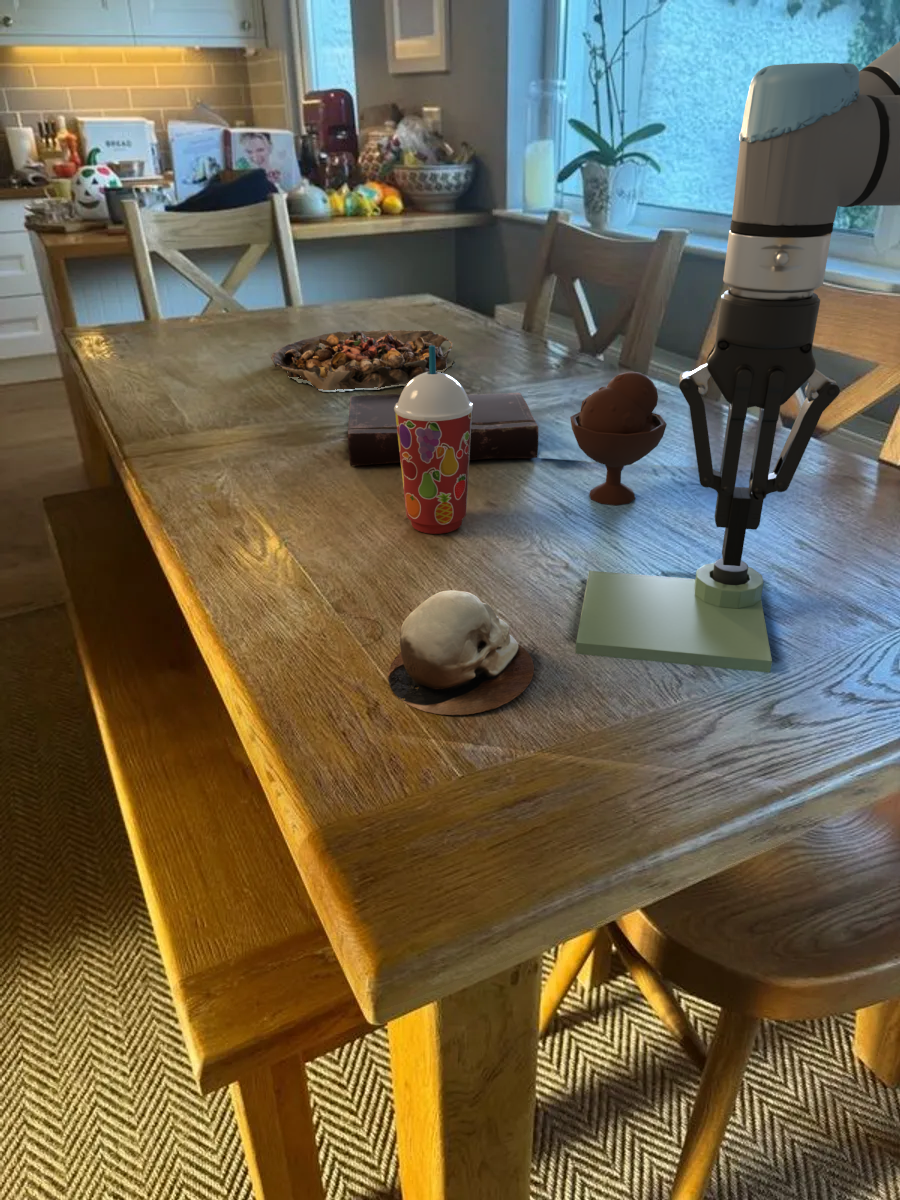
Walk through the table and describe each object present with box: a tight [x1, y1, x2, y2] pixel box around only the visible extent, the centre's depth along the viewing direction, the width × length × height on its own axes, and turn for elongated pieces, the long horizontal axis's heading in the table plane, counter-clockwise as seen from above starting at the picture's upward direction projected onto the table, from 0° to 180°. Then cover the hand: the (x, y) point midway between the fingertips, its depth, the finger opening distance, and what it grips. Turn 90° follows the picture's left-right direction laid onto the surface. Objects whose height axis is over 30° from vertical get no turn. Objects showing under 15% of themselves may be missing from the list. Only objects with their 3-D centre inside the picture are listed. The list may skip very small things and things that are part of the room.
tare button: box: [713, 557, 749, 585], centre depth 83 cm, size 3×3×2 cm
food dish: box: [270, 329, 454, 390], centre depth 165 cm, size 35×33×8 cm
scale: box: [574, 562, 773, 674], centre depth 81 cm, size 16×14×3 cm
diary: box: [347, 392, 539, 467], centre depth 126 cm, size 19×25×5 cm
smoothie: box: [394, 345, 473, 535], centre depth 98 cm, size 8×8×20 cm
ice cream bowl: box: [569, 371, 668, 506], centre depth 105 cm, size 11×11×15 cm
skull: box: [387, 589, 535, 716], centre depth 74 cm, size 12×10×10 cm
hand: (730, 558), depth 83 cm, fingers closed
